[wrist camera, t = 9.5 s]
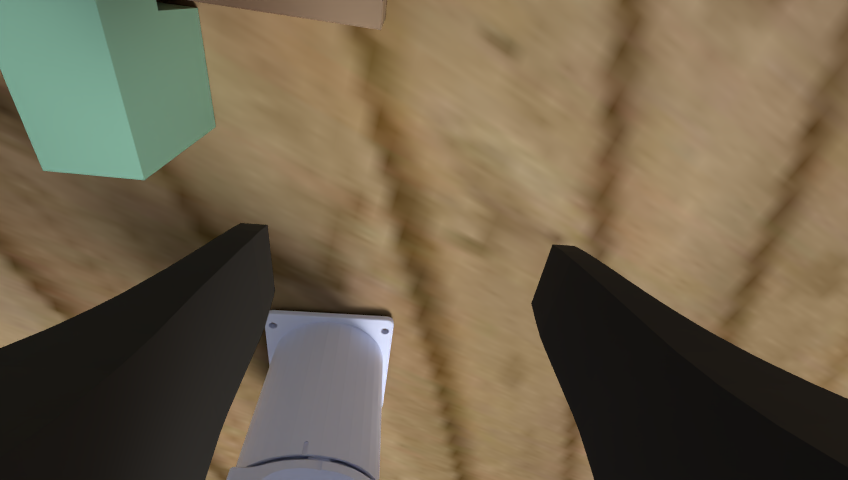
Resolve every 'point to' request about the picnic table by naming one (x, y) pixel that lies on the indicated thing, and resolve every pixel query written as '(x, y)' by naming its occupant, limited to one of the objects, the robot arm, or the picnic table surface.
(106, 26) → the green notched bar
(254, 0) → the walnut notched bar
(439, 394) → the picnic table surface
